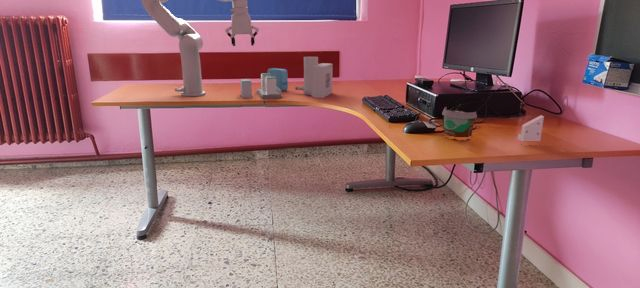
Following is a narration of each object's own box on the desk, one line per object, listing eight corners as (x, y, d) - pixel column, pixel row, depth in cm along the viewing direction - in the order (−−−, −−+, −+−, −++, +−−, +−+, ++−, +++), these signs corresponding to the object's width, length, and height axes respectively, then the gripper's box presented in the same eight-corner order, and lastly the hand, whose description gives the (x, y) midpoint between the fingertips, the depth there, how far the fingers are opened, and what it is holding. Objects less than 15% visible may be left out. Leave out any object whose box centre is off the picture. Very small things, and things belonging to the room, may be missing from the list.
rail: (262, 98, 224) (261, 78, 221) (256, 92, 242) (256, 73, 239) (281, 97, 227) (281, 77, 224) (274, 91, 245) (274, 72, 242)
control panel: (323, 98, 227) (323, 59, 221) (290, 95, 232) (289, 57, 227) (332, 93, 241) (333, 56, 236) (301, 91, 247) (301, 55, 242)
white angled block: (553, 138, 143) (543, 116, 141) (525, 153, 144) (515, 131, 142) (547, 135, 147) (538, 113, 145) (520, 150, 148) (510, 128, 146)
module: (242, 97, 227) (241, 81, 225) (240, 95, 234) (240, 79, 232) (252, 97, 228) (251, 81, 226) (250, 94, 236) (249, 79, 233)
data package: (287, 90, 249) (287, 69, 246) (282, 91, 246) (281, 70, 243) (273, 88, 257) (273, 67, 254) (268, 89, 254) (267, 68, 250)
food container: (433, 136, 154) (435, 109, 152) (442, 133, 159) (444, 106, 156) (465, 143, 146) (468, 114, 143) (474, 140, 150) (477, 111, 147)
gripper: (222, 12, 219) (225, 46, 224) (256, 10, 219) (258, 45, 223) (225, 12, 226) (228, 45, 231) (258, 11, 226) (260, 44, 231)
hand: (243, 45), depth 227 cm, fingers open, 9 cm apart
